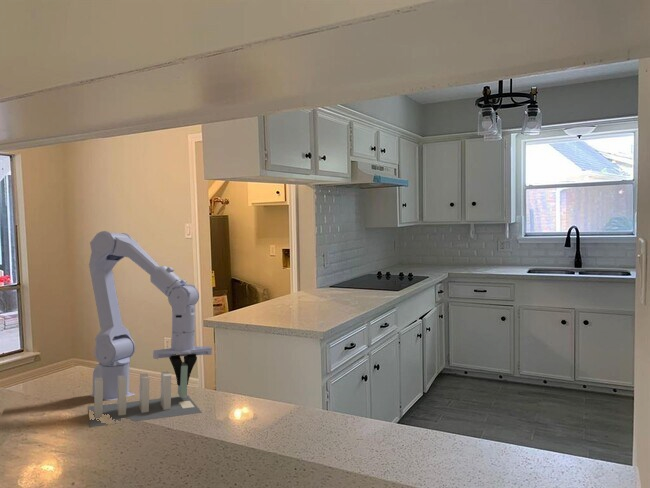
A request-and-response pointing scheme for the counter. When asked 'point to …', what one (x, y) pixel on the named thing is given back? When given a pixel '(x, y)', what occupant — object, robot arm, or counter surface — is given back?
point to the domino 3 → (144, 393)
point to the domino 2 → (121, 395)
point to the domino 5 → (183, 381)
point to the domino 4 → (165, 390)
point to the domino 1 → (98, 398)
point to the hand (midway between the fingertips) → (182, 384)
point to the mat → (155, 410)
